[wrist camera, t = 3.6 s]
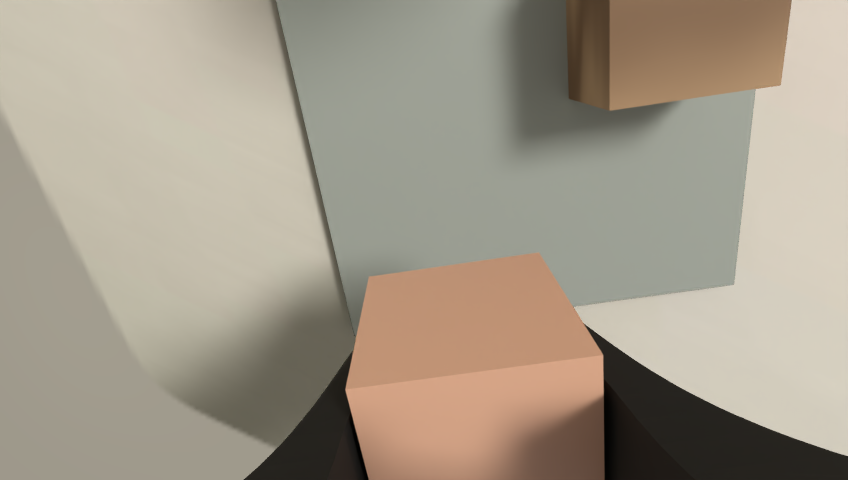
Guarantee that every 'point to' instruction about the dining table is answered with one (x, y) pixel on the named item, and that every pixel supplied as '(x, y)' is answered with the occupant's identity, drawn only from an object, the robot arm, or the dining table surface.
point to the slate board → (507, 152)
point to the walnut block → (672, 49)
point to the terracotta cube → (476, 376)
